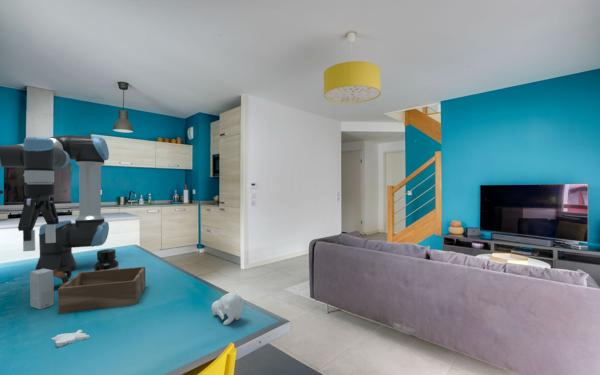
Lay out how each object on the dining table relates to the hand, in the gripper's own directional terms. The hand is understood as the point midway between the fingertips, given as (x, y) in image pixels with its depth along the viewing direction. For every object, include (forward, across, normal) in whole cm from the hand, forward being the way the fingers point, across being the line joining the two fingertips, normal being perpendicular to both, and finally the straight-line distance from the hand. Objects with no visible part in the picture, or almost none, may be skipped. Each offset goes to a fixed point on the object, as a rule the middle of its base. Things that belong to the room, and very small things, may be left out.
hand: (40, 246), depth 99 cm
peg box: (+20, 0, +19) cm, 28 cm away
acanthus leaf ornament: (+21, +28, +18) cm, 39 cm away
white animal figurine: (+21, +29, +58) cm, 69 cm away
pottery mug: (+20, -20, -4) cm, 29 cm away
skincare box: (+20, 0, 0) cm, 21 cm away
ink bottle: (+20, -26, +12) cm, 35 cm away
